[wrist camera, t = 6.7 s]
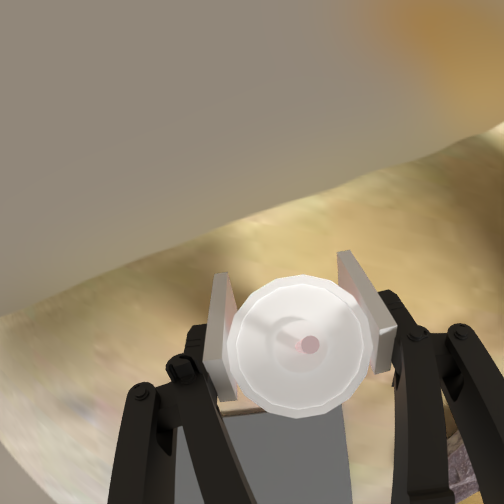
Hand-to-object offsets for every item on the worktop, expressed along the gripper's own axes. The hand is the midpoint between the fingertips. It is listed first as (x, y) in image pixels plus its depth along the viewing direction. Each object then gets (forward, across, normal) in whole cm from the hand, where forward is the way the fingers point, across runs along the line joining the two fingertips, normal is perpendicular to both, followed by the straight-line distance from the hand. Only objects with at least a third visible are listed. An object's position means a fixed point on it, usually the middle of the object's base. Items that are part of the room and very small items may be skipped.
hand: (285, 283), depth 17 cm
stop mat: (-5, -6, -17) cm, 19 cm away
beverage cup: (+1, 0, -6) cm, 6 cm away
